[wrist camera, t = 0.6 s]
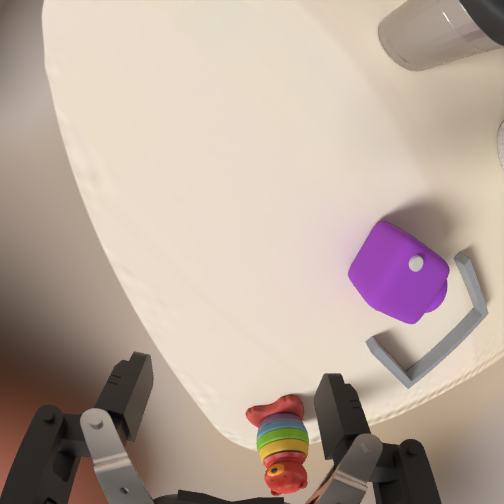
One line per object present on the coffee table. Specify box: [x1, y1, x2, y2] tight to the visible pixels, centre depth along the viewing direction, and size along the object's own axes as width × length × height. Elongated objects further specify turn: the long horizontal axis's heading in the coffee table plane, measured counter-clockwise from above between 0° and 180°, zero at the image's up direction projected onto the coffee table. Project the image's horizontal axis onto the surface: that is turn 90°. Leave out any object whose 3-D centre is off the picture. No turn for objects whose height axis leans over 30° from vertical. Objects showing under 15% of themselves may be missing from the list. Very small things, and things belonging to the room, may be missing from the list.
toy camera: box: [348, 221, 450, 324], centre depth 32 cm, size 11×14×10 cm
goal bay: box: [366, 252, 488, 389], centre depth 40 cm, size 22×16×3 cm
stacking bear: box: [246, 395, 309, 496], centre depth 39 cm, size 11×10×18 cm
